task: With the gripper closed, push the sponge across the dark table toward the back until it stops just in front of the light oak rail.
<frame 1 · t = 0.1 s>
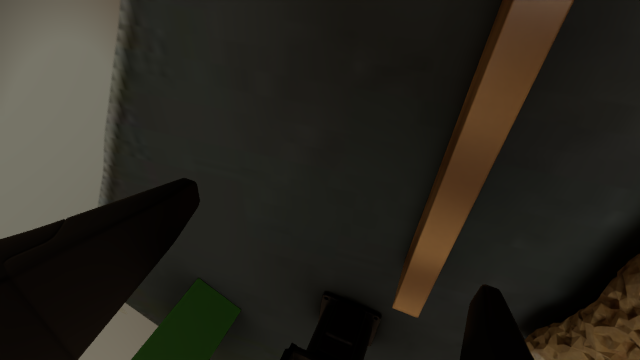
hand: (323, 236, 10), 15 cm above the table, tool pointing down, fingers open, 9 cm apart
back rail: (467, 139, 22), on the table
hardback book: (202, 311, 54), on the table
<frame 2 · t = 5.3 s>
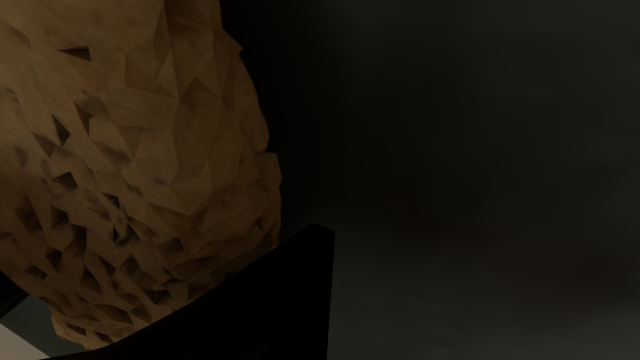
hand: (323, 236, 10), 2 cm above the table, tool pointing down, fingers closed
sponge: (177, 130, 14), on the table, touching gripper
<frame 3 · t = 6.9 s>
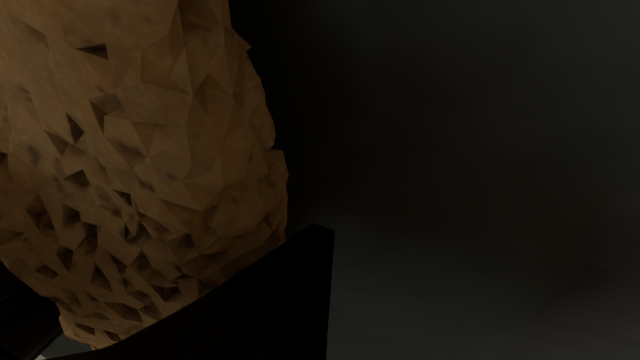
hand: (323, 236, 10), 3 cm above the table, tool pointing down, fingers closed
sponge: (181, 131, 14), on the table, touching gripper
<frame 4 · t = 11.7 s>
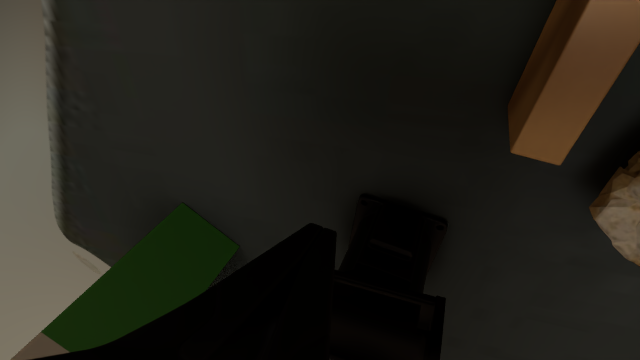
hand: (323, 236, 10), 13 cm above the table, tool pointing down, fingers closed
hardback book: (190, 256, 42), on the table
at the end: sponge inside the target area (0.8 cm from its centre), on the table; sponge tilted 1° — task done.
